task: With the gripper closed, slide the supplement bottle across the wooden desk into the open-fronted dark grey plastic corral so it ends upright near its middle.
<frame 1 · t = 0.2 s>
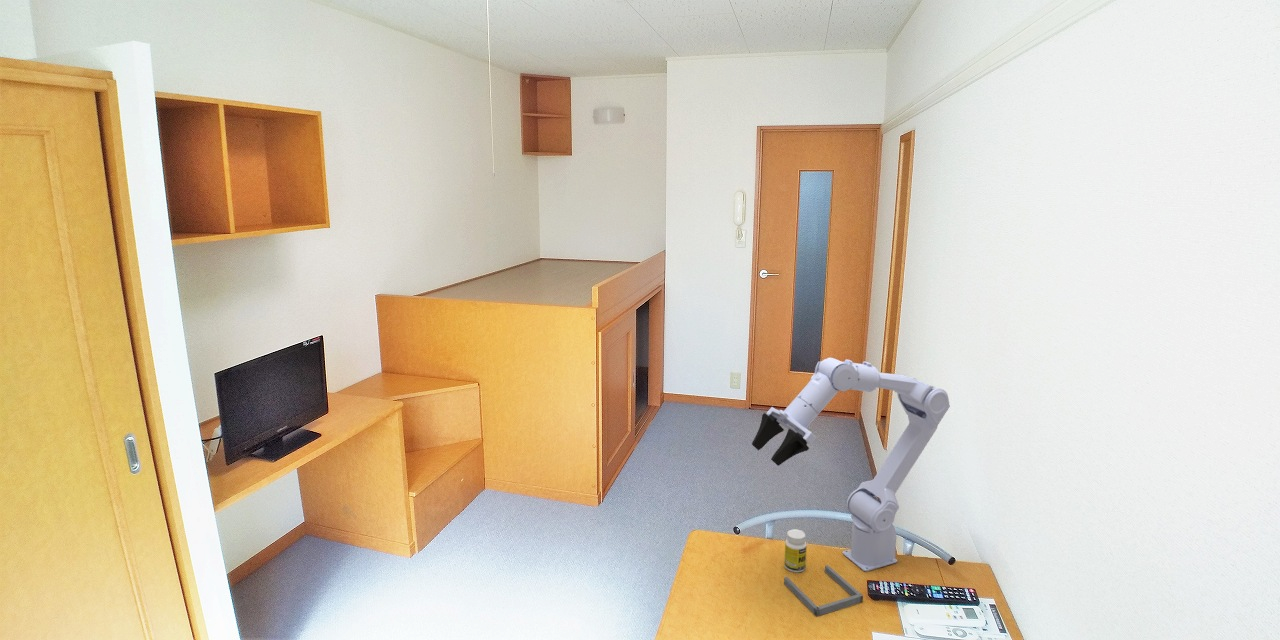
hand: (764, 454, 131), 31 cm above the table, tool tilted 45°, fingers open, 7 cm apart
supplement bottle: (794, 567, 145), on the table
corral: (822, 592, 136), on the table
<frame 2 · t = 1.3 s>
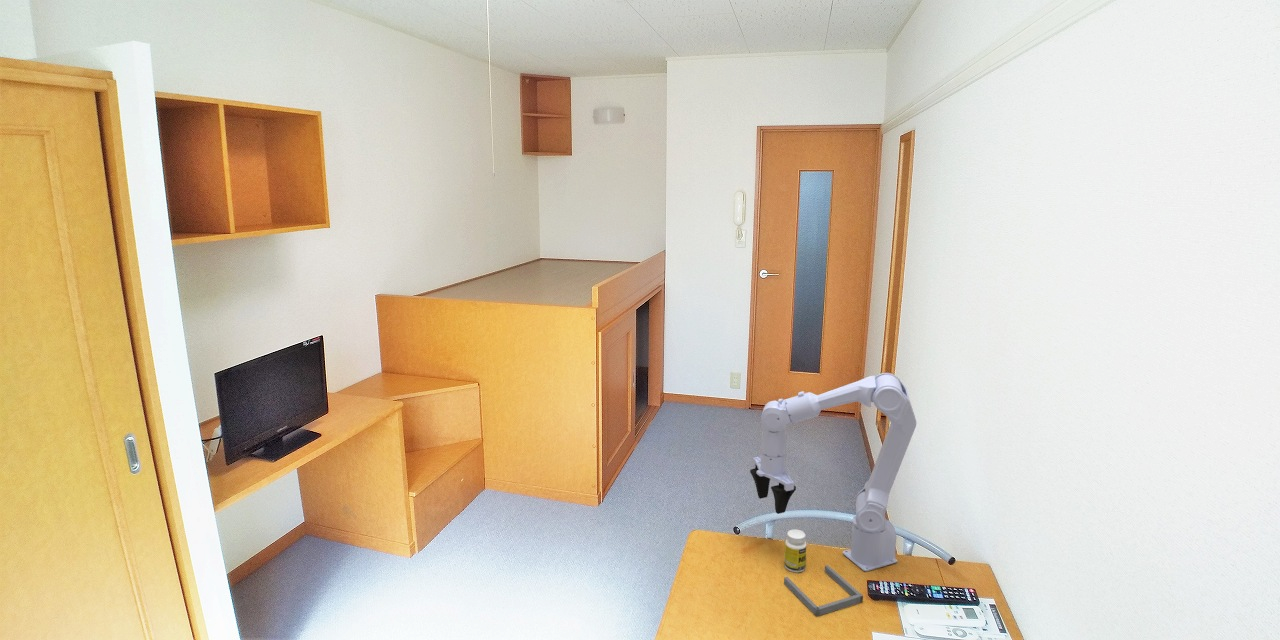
hand: (771, 504, 151), 11 cm above the table, tool pointing down, fingers open, 7 cm apart
nothing on the table moved.
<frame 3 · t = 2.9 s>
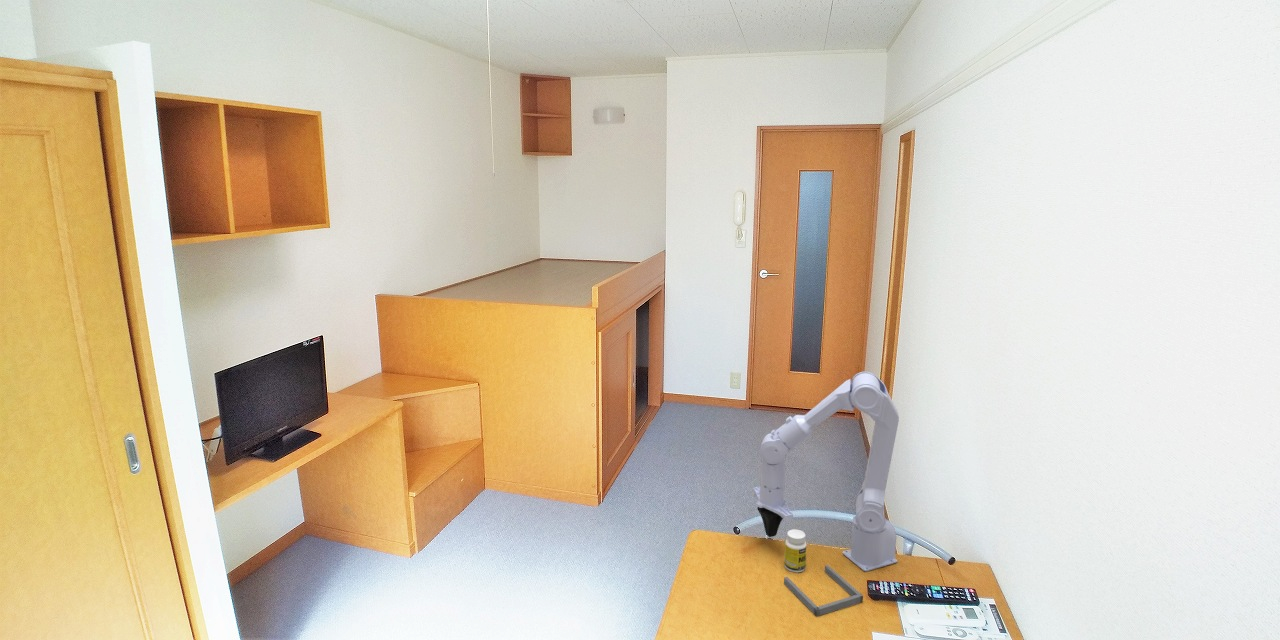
hand: (771, 535, 153), 2 cm above the table, tool pointing down, fingers closed
nothing on the table moved.
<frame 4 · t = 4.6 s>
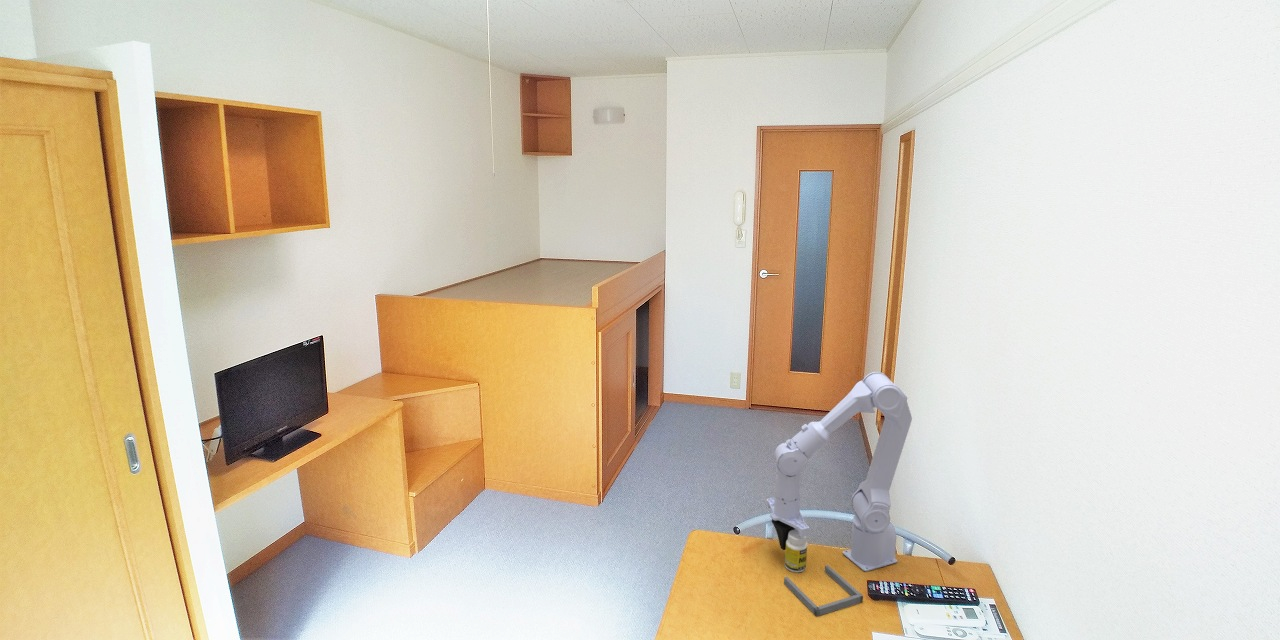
hand: (785, 548, 148), 2 cm above the table, tool pointing down, fingers closed
supplement bottle: (794, 567, 145), on the table, touching gripper
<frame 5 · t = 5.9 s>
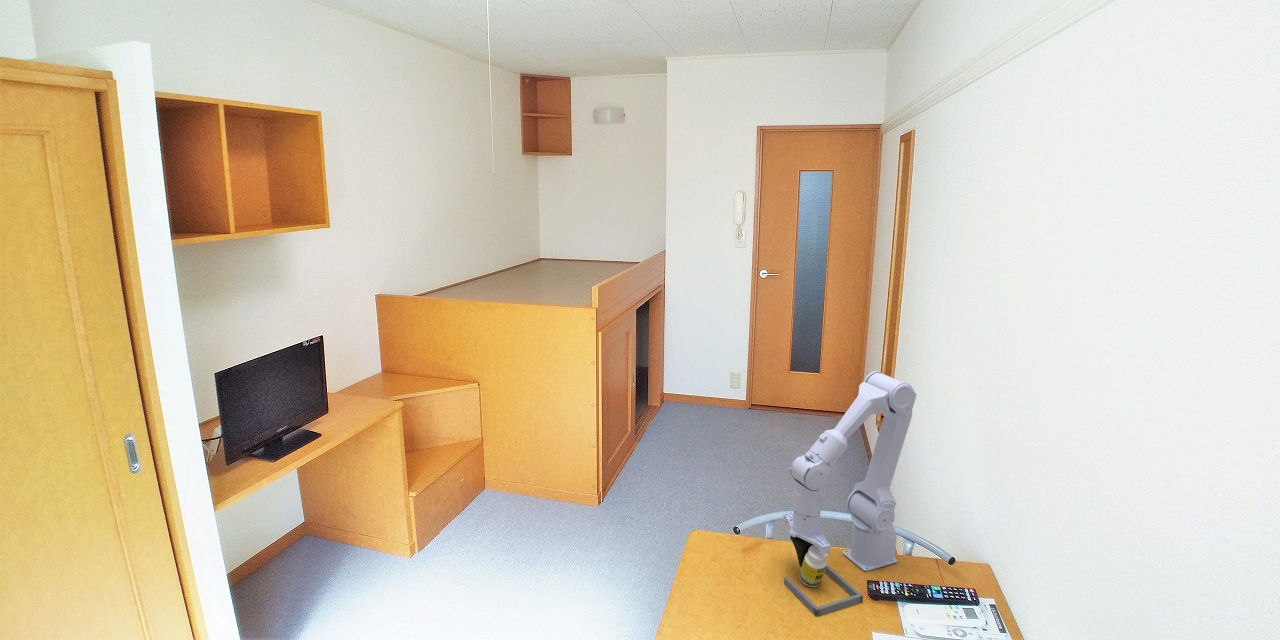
hand: (804, 565, 141), 2 cm above the table, tool pointing down, fingers closed
supplement bottle: (809, 579, 139), on the table, touching gripper
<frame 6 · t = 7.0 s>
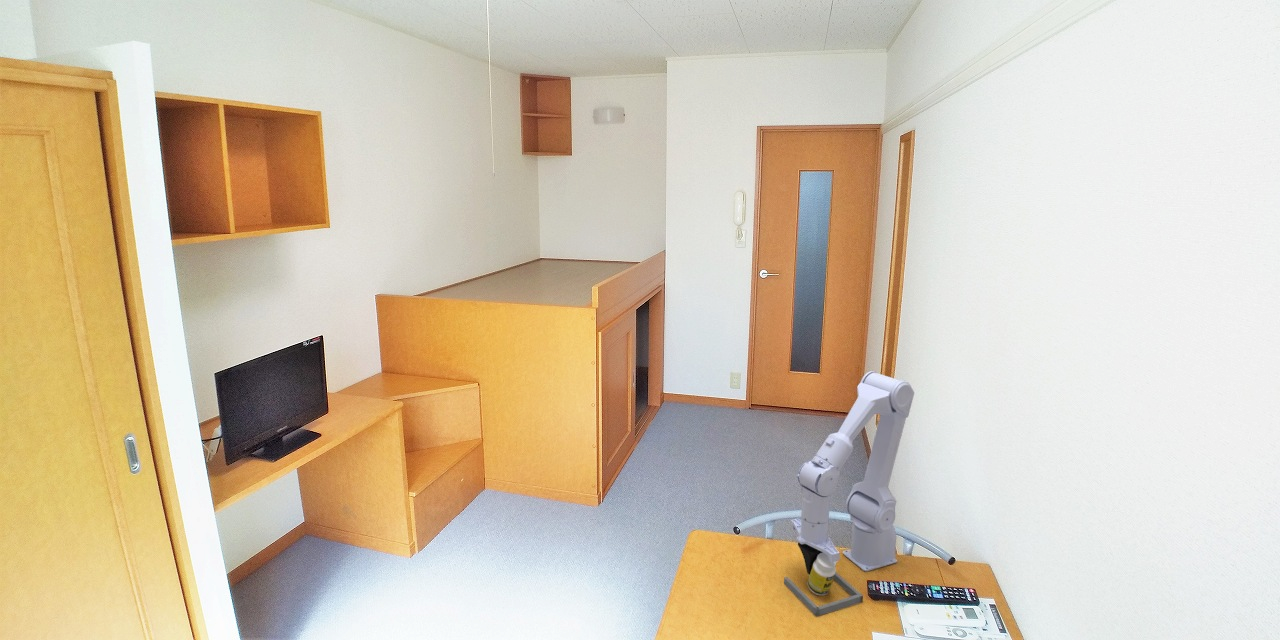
hand: (812, 573, 138), 2 cm above the table, tool pointing down, fingers closed
supplement bottle: (818, 587, 137), on the table, touching gripper
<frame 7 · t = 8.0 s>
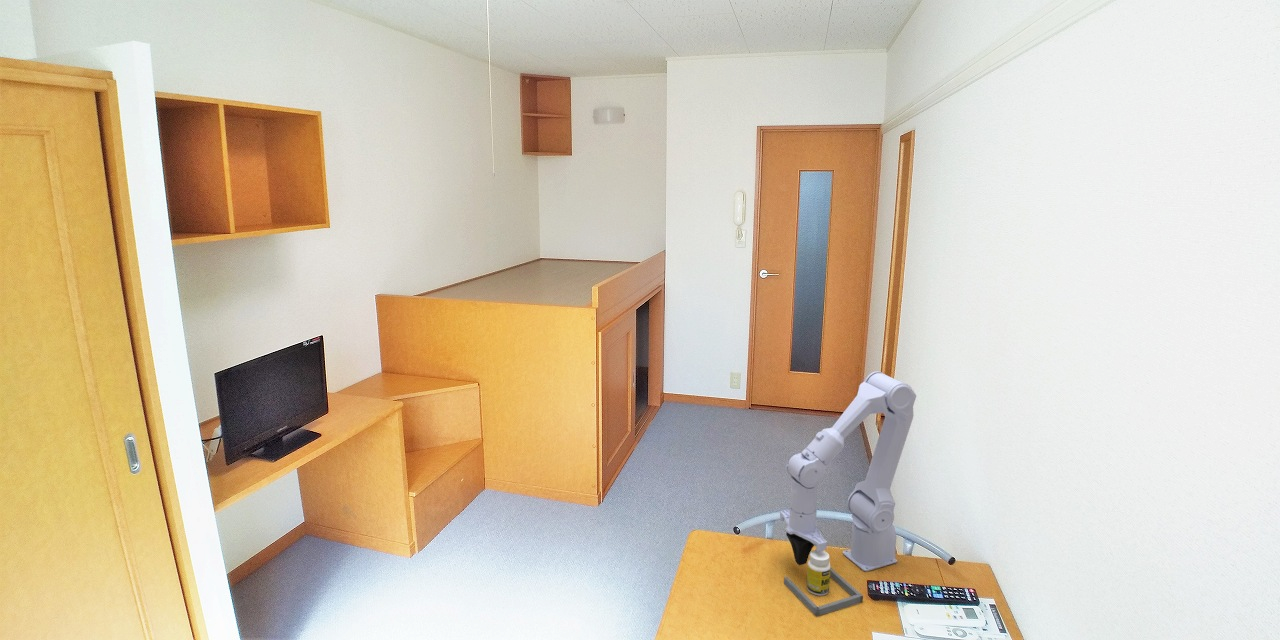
hand: (801, 562, 142), 2 cm above the table, tool pointing down, fingers closed
supplement bottle: (817, 590, 137), on the table
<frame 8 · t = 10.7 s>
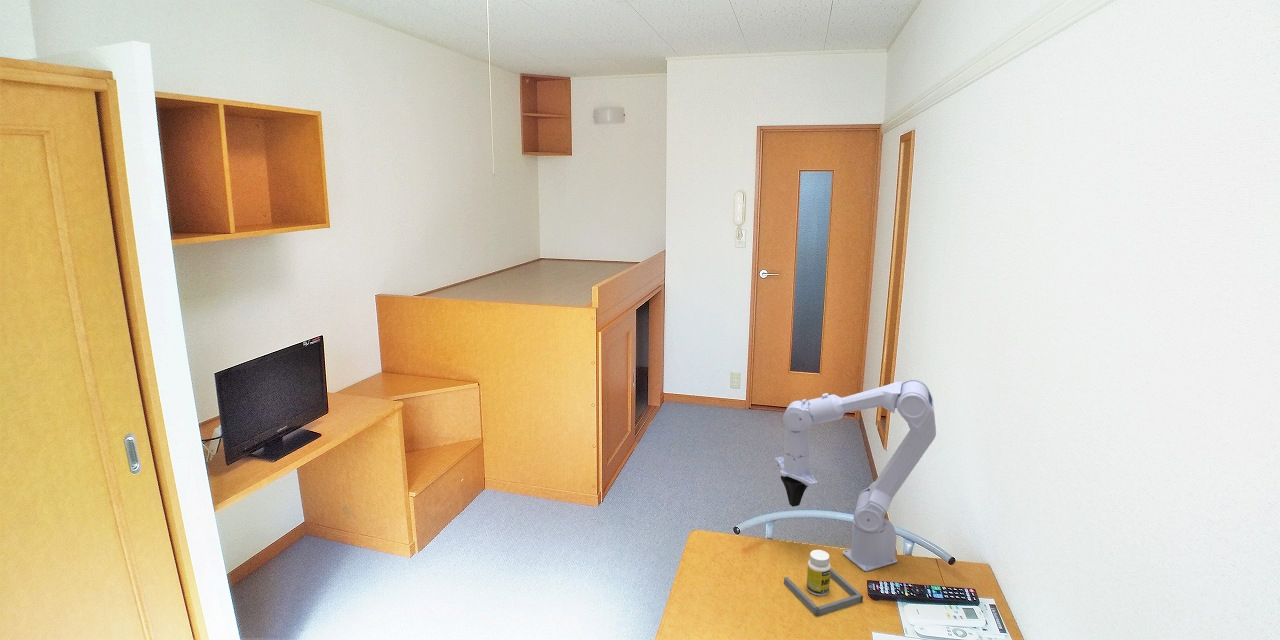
hand: (794, 504, 151), 10 cm above the table, tool pointing down, fingers closed
nothing on the table moved.
at the end: supplement bottle inside the target area on the corral (1.8 cm from its centre), point 0.0 cm above the corral's base; supplement bottle tilted 0°; the gripper is holding nothing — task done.
